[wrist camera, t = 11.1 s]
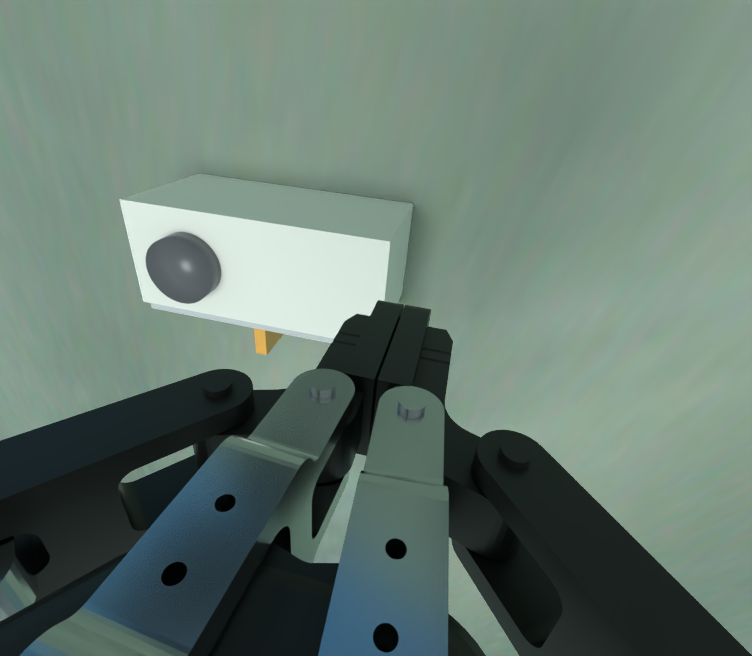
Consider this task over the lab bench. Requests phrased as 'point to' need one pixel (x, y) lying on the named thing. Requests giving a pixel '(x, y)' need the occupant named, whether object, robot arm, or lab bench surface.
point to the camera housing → (266, 253)
